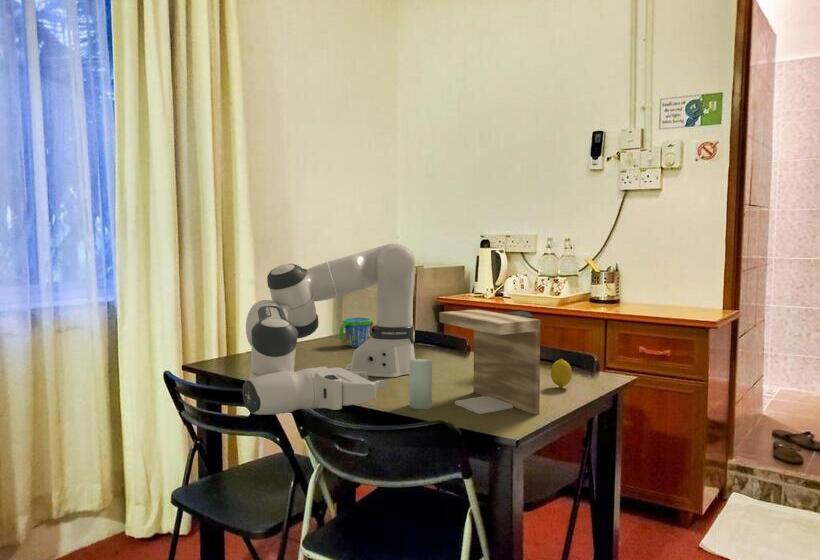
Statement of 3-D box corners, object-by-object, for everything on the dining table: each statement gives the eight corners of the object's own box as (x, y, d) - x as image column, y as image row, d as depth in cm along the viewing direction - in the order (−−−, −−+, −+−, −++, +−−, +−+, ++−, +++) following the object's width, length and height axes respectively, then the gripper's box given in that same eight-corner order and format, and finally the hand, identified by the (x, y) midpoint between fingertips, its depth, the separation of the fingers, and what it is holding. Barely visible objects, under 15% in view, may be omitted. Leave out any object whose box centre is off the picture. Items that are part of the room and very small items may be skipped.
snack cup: (347, 350, 222) (347, 322, 221) (332, 346, 230) (331, 319, 229) (382, 345, 231) (382, 318, 231) (366, 341, 240) (366, 316, 239)
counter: (498, 422, 135) (499, 323, 134) (439, 397, 156) (439, 312, 155) (539, 413, 141) (540, 319, 140) (477, 391, 162) (477, 309, 161)
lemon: (567, 391, 162) (568, 361, 161) (547, 388, 165) (548, 359, 164) (574, 387, 167) (574, 358, 166) (554, 384, 170) (554, 356, 169)
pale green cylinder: (408, 409, 146) (408, 363, 145) (410, 402, 152) (410, 359, 151) (431, 409, 146) (431, 363, 145) (432, 403, 151) (432, 359, 150)
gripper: (303, 391, 144) (357, 383, 151) (338, 412, 126) (396, 402, 133) (303, 364, 144) (356, 358, 150) (337, 382, 126) (396, 374, 133)
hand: (375, 379), depth 142 cm, fingers open, 8 cm apart
